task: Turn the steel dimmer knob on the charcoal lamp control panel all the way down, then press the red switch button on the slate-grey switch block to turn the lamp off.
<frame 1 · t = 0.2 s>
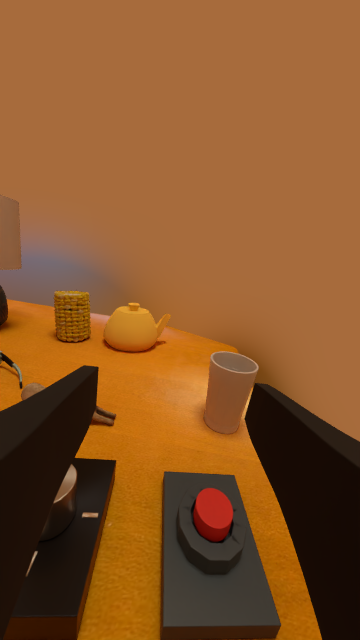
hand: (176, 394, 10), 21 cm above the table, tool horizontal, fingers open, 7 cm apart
food: (72, 337, 67), on the table
switch button: (212, 513, 21), point 4 cm above the table, slide at 0.1 cm
dimmer panel: (52, 537, 21), on the table
dimmer knob: (52, 496, 20), point 5 cm above the table, hinge at 0.0°
cup: (220, 421, 40), on the table
teapot: (135, 342, 71), on the table
switch block: (205, 541, 22), on the table
figurine: (69, 418, 36), on the table
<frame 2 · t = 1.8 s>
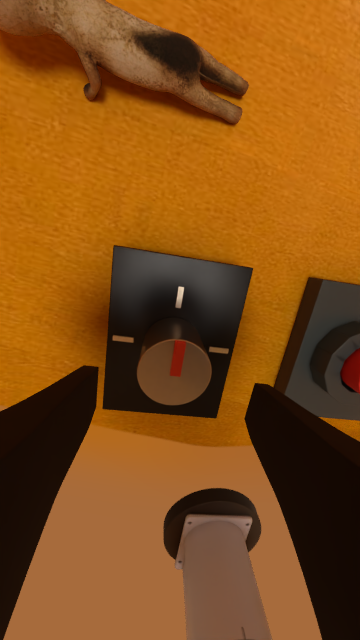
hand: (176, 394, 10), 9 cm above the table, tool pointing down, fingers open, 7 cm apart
dimmer panel: (170, 329, 18), on the table
dimmer knob: (173, 358, 13), point 5 cm above the table, hinge at 0.0°
switch block: (333, 350, 20), on the table
figurine: (128, 77, 14), on the table
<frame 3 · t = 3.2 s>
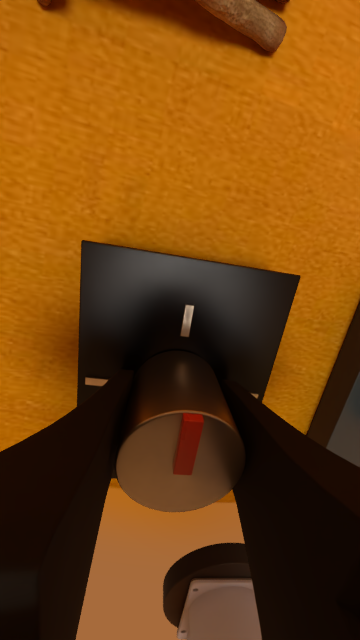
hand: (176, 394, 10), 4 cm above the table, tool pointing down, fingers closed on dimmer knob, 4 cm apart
dimmer panel: (172, 358, 13), on the table
dimmer knob: (177, 421, 8), point 5 cm above the table, hinge at -0.2°, touching gripper
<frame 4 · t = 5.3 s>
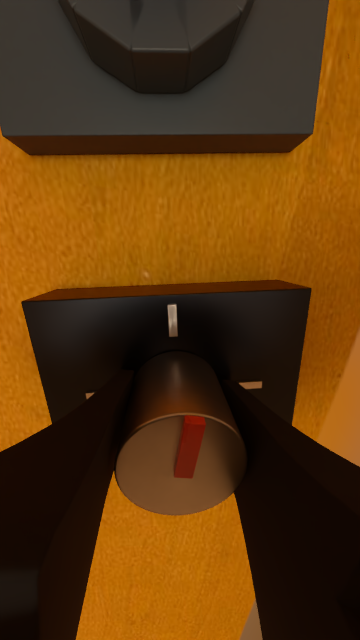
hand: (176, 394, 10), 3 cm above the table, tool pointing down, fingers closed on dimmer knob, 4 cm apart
dimmer panel: (173, 359, 13), on the table
dimmer knob: (178, 423, 8), point 5 cm above the table, hinge at -101.6°, touching gripper
switch block: (157, 20, 9), on the table
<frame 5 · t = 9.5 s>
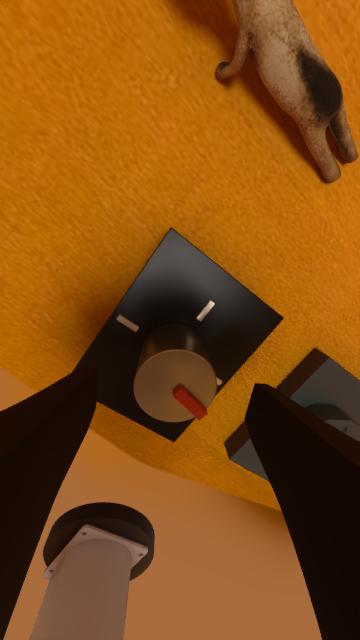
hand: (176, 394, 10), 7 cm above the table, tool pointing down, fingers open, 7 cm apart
dimmer panel: (171, 335, 17), on the table
dimmer knob: (174, 368, 12), point 5 cm above the table, hinge at -101.4°
switch block: (300, 421, 21), on the table
figurine: (261, 82, 13), on the table
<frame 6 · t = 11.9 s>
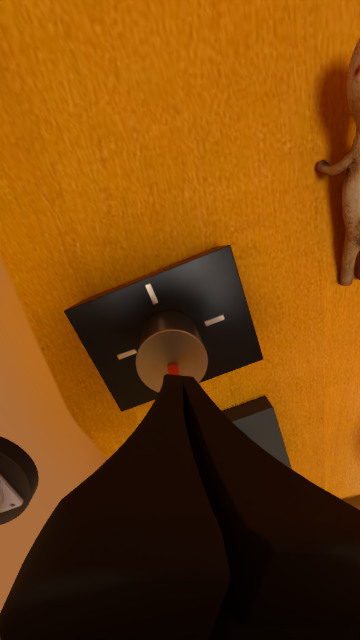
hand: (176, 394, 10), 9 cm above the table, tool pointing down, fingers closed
dimmer panel: (169, 324, 19), on the table
dimmer knob: (171, 349, 14), point 5 cm above the table, hinge at -101.4°
switch block: (221, 448, 23), on the table
figurine: (339, 190, 17), on the table
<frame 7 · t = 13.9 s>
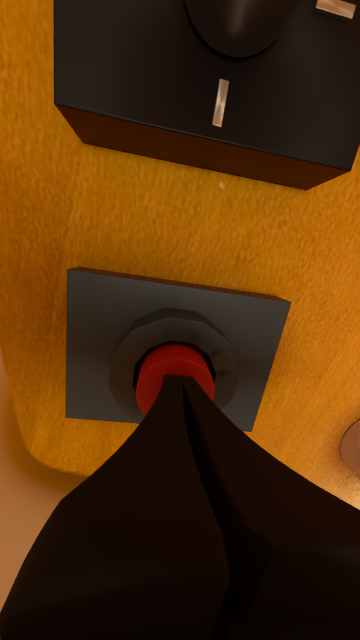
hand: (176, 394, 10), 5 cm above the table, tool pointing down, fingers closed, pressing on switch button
switch button: (174, 383, 11), point 4 cm above the table, slide at -0.1 cm, touching gripper
dimmer panel: (219, 57, 10), on the table
switch block: (172, 350, 14), on the table
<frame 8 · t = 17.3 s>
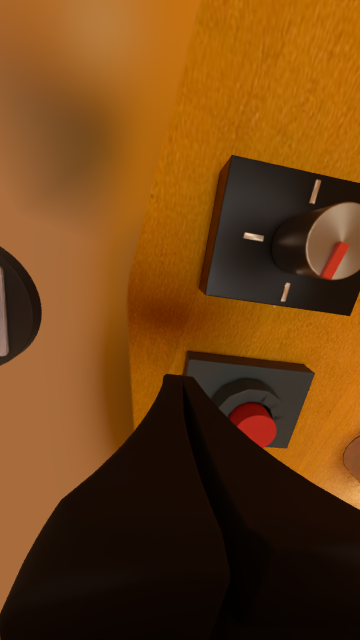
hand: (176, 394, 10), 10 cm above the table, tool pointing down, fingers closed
switch button: (251, 425, 19), point 4 cm above the table, slide at 0.1 cm
dimmer panel: (277, 246, 19), on the table
dimmer knob: (319, 244, 14), point 5 cm above the table, hinge at -101.4°
switch block: (237, 396, 23), on the table
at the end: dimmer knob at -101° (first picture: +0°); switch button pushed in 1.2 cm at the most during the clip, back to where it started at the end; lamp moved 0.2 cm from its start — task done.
